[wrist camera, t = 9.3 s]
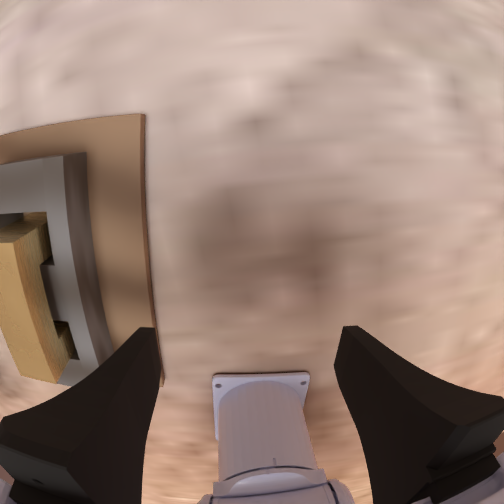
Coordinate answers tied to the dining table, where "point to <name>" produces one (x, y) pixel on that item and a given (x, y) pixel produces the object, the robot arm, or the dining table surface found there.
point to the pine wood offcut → (30, 302)
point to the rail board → (86, 228)
